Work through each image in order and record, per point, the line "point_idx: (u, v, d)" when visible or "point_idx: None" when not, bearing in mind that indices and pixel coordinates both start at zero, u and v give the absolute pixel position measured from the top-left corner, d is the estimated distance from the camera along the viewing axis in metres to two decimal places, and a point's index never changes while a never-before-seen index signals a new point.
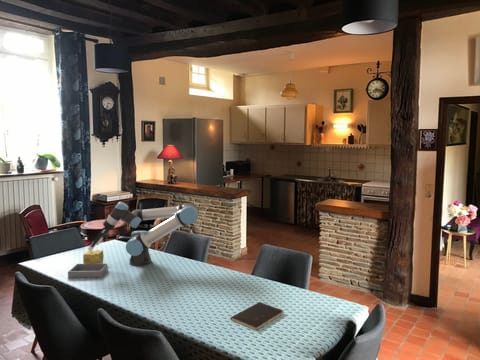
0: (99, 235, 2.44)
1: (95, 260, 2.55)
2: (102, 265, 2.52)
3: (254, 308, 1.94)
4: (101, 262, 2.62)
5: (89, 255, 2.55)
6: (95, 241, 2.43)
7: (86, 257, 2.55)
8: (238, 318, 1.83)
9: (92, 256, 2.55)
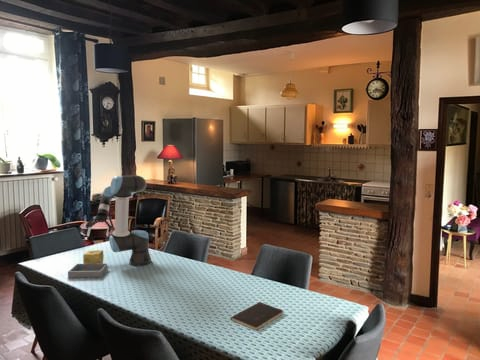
0: None
1: (95, 260, 2.55)
2: (102, 265, 2.52)
3: (254, 308, 1.94)
4: (101, 262, 2.62)
5: (89, 255, 2.55)
6: None
7: (86, 257, 2.55)
8: (238, 318, 1.83)
9: (92, 256, 2.55)
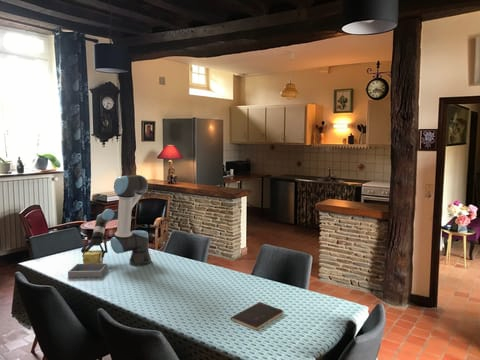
0: None
1: (95, 260, 2.55)
2: (102, 265, 2.52)
3: (254, 308, 1.94)
4: (101, 262, 2.62)
5: (89, 255, 2.55)
6: None
7: (86, 257, 2.55)
8: (238, 318, 1.83)
9: (92, 256, 2.55)
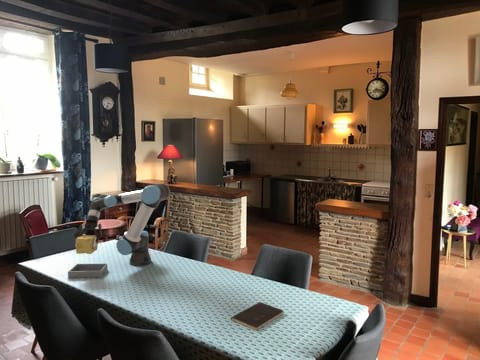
0: None
1: (88, 245, 2.39)
2: (102, 265, 2.52)
3: (254, 308, 1.94)
4: (95, 247, 2.46)
5: (82, 239, 2.39)
6: None
7: (79, 242, 2.39)
8: (238, 318, 1.83)
9: (85, 241, 2.39)
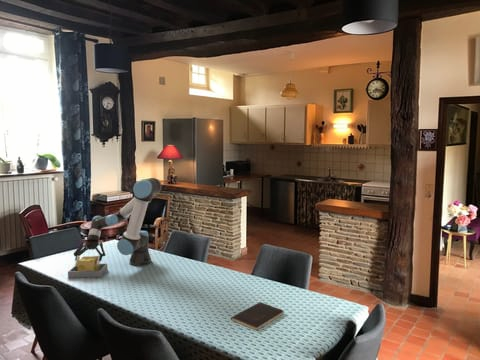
0: None
1: (90, 267, 2.39)
2: (102, 265, 2.52)
3: (254, 308, 1.94)
4: (97, 269, 2.46)
5: (84, 261, 2.39)
6: None
7: (81, 264, 2.39)
8: (238, 318, 1.83)
9: (87, 262, 2.39)
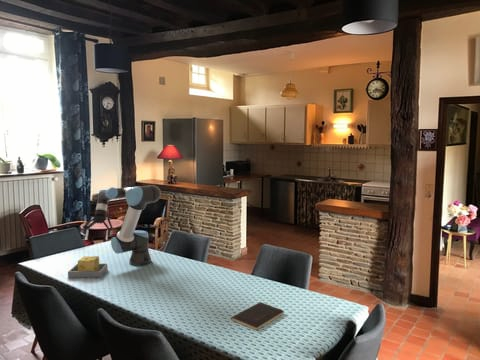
0: None
1: (90, 267, 2.39)
2: (102, 265, 2.52)
3: (254, 308, 1.94)
4: (97, 269, 2.46)
5: (84, 261, 2.39)
6: None
7: (81, 264, 2.39)
8: (238, 318, 1.83)
9: (87, 262, 2.39)
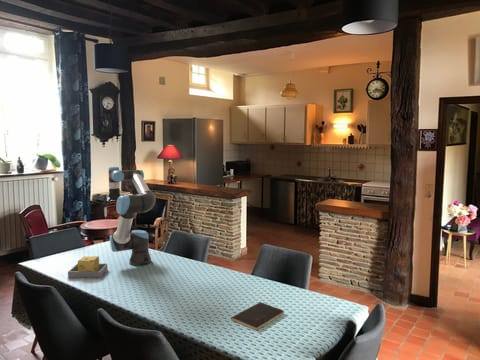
0: None
1: (90, 267, 2.39)
2: (102, 265, 2.52)
3: (254, 308, 1.94)
4: (97, 269, 2.46)
5: (84, 261, 2.39)
6: None
7: (81, 264, 2.39)
8: (239, 318, 1.83)
9: (87, 262, 2.39)
